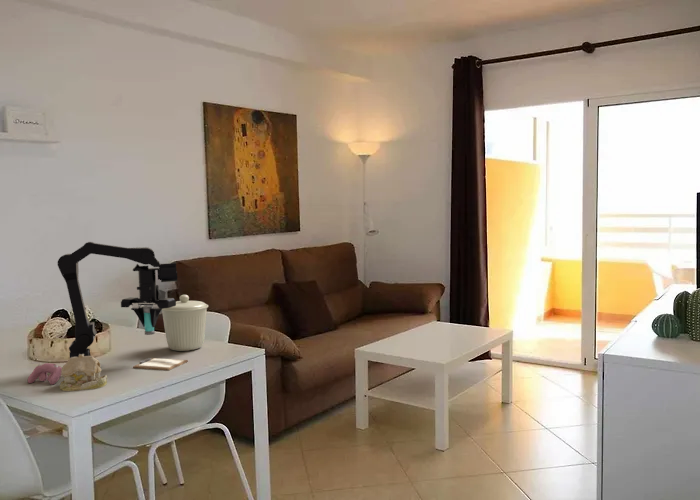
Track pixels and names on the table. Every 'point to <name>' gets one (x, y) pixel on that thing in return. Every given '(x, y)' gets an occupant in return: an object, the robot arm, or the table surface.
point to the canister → (185, 324)
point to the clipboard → (159, 364)
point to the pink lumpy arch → (42, 373)
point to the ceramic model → (82, 374)
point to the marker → (148, 321)
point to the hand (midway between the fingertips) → (149, 326)
